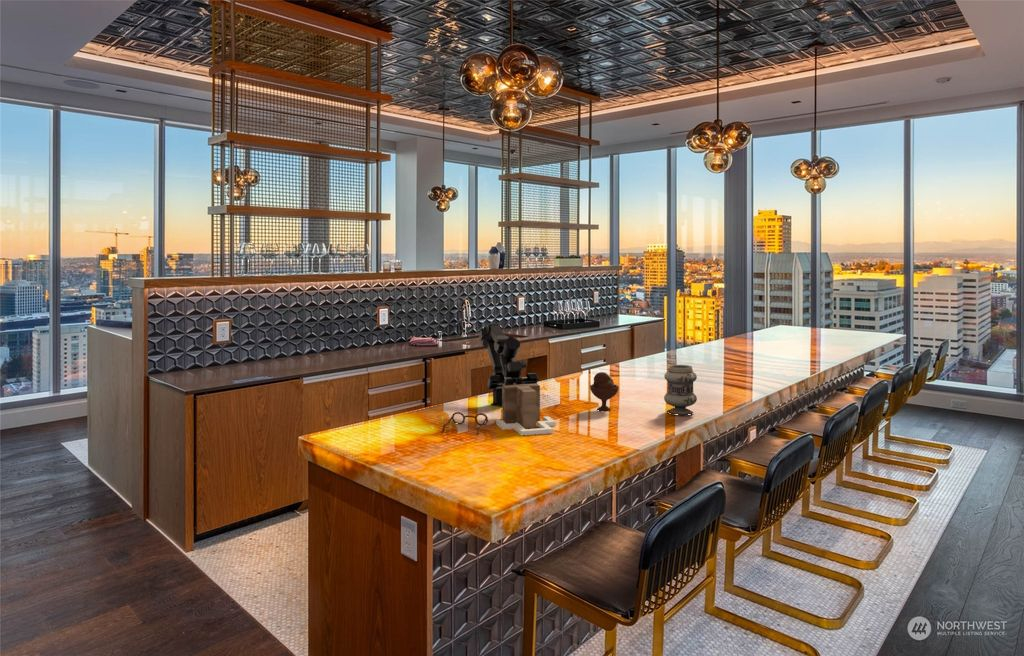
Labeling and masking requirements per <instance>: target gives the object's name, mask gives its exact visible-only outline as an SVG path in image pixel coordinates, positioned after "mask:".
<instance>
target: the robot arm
mask: <svg viewBox="0 0 1024 656" xmlns="http://www.w3.org/2000/svg"><path fill="white" fill-rule="evenodd" d="M478 338H479V341H480V343H481V345H482V347H484V348H485V349H487V351H488V355H489V359H490V362H491V364H492V369H493V370H492V374H491V375H489V377H488V380H487V383H486V384H487V389H488V390H491V391H492V402H491V403H490V405H491V406H497V405H499V407H502V386H503V385H520V384H538V382H539V380H540V379H539V375H538V373H536V372H529V373H526V376H521V375H522V371H523V370H526V369H527V367H528V366H527V361H526V360H525V359H522V360H520V361H516V358H517V356H518V353H519V350H520V347H521V342H520V341H519V339H517V338H515V337H514V335H506V334H505V333H504V331H503V330H502V328H501V325H500V323H488V324H487V325H486V326H485V327H483V328H481V329H480V331H479V333H478Z"/></svg>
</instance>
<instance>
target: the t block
mask: <svg viewBox="0 0 1024 656" xmlns="http://www.w3.org/2000/svg"><path fill="white" fill-rule="evenodd" d="M501 411H502V413H501V416H502V418H501V420H503V421H504V422H505V423H506V424H511V423H513V422H517V423H519V424H520V425H521V426H522V427H523V428H530V429H537V421H541V385H540V384H538V383H537V384H525V383H524V384H520V385H515V384H514V385H503V386H502V406H501Z"/></svg>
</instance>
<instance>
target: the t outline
mask: <svg viewBox="0 0 1024 656" xmlns="http://www.w3.org/2000/svg"><path fill="white" fill-rule="evenodd" d="M495 423H496V425H497V427H499V428H500V429H501V431H505V430H504V429H508V430H514V431H516V433H518V434H519V435H520V436H523V435H525V436H534V435H535V434H536V435H546V434H548V435H549V434H553V431H554V430H553V428H552V427H555V426H557V421H556V420H554V419H553V418H552V417H550V416H549V415H548V416H545V415H544V416H542V420H540V421H536V428H530V429H525V428H523V427H522V426H521V425H520V424H519V423H505V422H504V421H503V420H502V419H496V420H495ZM538 426H539V427H540V428H539V427H538ZM537 427H538V428H537ZM536 435H535V436H536ZM523 437H524V436H523Z"/></svg>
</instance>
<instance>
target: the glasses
mask: <svg viewBox="0 0 1024 656" xmlns="http://www.w3.org/2000/svg"><path fill="white" fill-rule="evenodd" d="M455 415H460V416H462V422H457V421H456V420H455ZM478 416H484V420H483V421H482V423H480V422H478V419H477V418H478ZM466 418H473V419H474V420H475V424H476V425H478V427H477V432H476V433H477V434H476V435H477V436H479V435H480V429H481V428H482V427H484V426H486V425H487V424H488V422H489V417H488V416H487V414H486V413H482V412H479V413H477V414H475V416H474V415H468V414H467V415H465V414H464V413H462V412H459V411H455V412H454V413H453V414H452V415H451V417H450V418H449V420H448V421H447V422H446V423H444V424H443V425H442V430H441V434H444V432H445V427H446V426H448V425H449V424H450V423H451V421H452V422H453V423H454V424H455V423H458V424H457V425H463V424H464V423H465V421H466ZM483 425H484V426H483ZM478 434H479V435H478Z"/></svg>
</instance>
